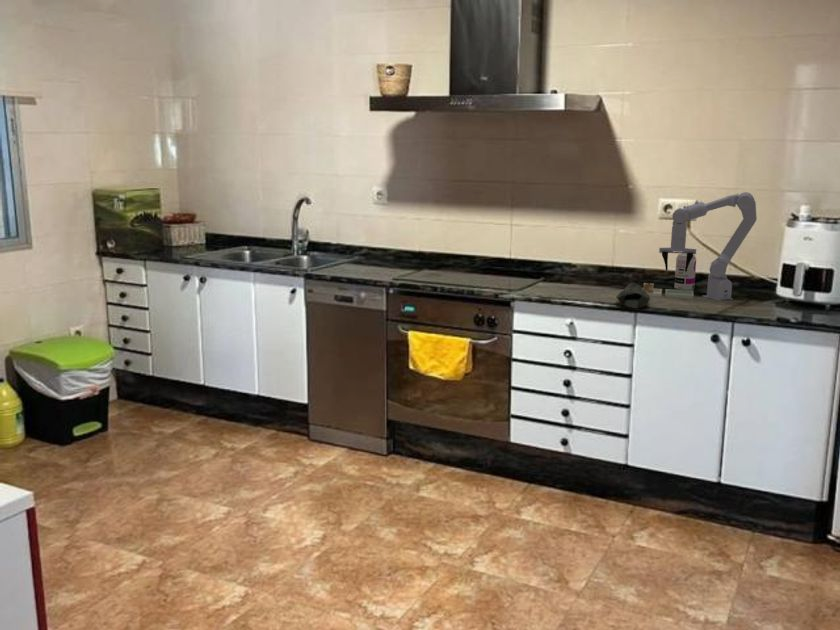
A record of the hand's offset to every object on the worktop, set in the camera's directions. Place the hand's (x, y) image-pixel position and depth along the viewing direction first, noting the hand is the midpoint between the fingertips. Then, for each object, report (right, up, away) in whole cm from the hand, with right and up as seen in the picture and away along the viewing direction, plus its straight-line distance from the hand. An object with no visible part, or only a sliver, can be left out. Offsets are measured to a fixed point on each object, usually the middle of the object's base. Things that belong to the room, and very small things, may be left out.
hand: (676, 270), depth 341 cm
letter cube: (-11, -9, +3) cm, 15 cm away
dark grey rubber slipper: (-21, -14, -11) cm, 27 cm away
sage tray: (+1, -11, 0) cm, 11 cm away
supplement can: (+8, -8, +15) cm, 18 cm away
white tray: (-11, -10, +3) cm, 15 cm away
